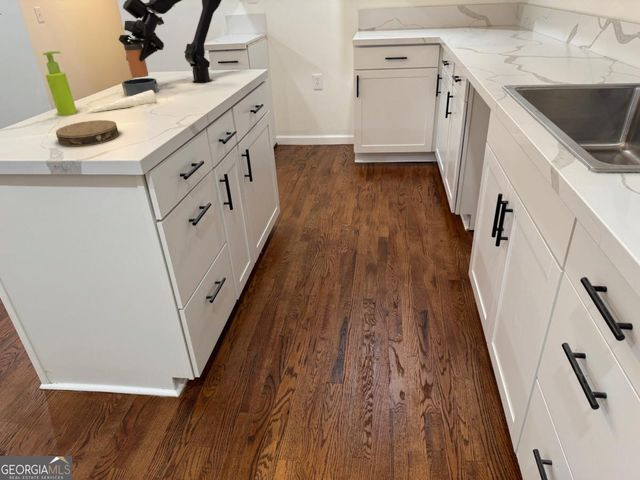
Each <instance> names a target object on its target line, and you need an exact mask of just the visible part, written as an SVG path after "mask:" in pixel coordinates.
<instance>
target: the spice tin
mask: <svg viewBox="0 0 640 480" xmlns="http://www.w3.org/2000/svg"><path fill="white" fill-rule="evenodd" d="M142 48H143V45H142V44H130V45H125V46H124V45H123V49H124V51H125V54H126V55H127V59H128V61H127V63H128V68H129V71H130V75H131V78H132V79H133V78H134V79H140V78H147V77H149V71H148V66H147V61H146V59H144V60H143V61H142V62H141V61H140V60H139V58H140V54H141V51H142Z"/></svg>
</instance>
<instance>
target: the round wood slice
mask: <svg viewBox="0 0 640 480" xmlns="http://www.w3.org/2000/svg"><path fill="white" fill-rule="evenodd" d="M55 135H56V138H57V141H58V144H59V145H61V146H64V147H74V148H75V147H76V148H77V147H87V146H94V145H99V144H103V143H106V142H110V141H112V140H114V139H116V138H117V137H119V135H120V133H119V129H118V125H117V122H115V121H113V120H107V119H106V120H104V119H99V120H98V119H97V120H88V121H87V120H86V121H80V122H75V123H71V124H67V125H65V126H62V127H59V128H58V129H56V131H55Z"/></svg>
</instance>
